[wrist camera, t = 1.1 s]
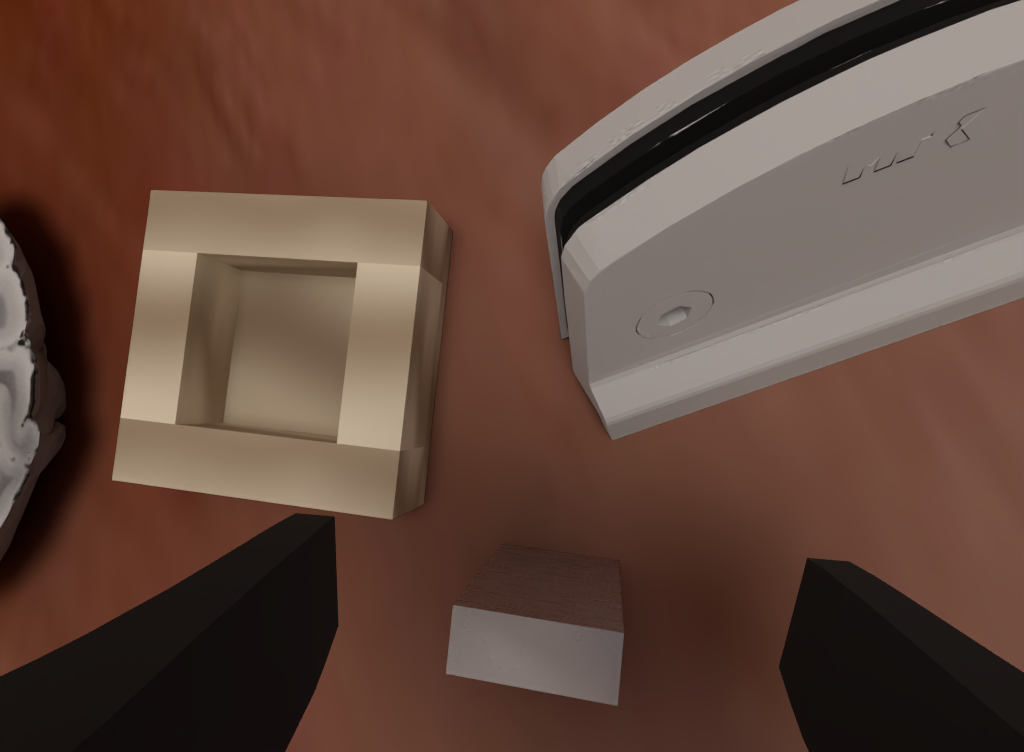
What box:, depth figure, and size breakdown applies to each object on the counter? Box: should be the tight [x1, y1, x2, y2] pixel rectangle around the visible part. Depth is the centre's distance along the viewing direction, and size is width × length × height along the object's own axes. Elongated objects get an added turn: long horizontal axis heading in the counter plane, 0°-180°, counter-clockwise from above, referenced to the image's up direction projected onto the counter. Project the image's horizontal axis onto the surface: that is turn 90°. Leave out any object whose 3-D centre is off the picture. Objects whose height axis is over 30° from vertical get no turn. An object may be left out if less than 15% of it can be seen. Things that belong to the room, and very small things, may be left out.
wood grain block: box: [446, 544, 624, 706], centre depth 16 cm, size 4×4×6 cm
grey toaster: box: [541, 0, 1024, 440], centre depth 15 cm, size 17×5×10 cm, turn 110°
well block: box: [112, 190, 453, 519], centre depth 20 cm, size 10×10×3 cm
